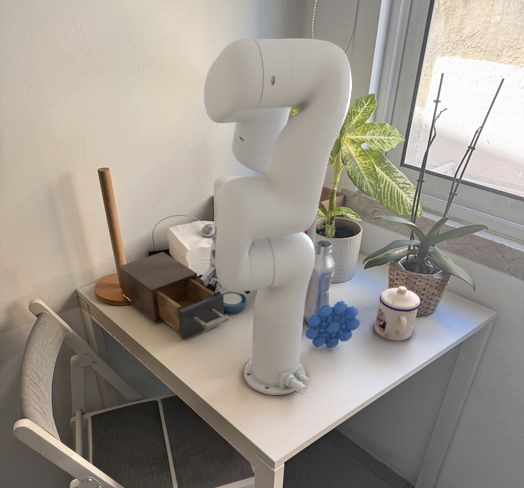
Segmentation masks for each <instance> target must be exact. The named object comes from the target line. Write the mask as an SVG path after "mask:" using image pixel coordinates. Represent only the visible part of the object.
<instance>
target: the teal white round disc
mask: <svg viewBox="0 0 524 488" xmlns="http://www.w3.org/2000/svg"><path fill="white" fill-rule="evenodd" d="M221 294H222V295H223V299H224V312H225V313H228V314H236V313H238V312H240V311H241V310H242V309H243V308H245V306H246V305H247V297H246V295H244V294H243V293H242V292H230V291H225V292H222V293H221Z"/></svg>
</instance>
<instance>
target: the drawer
mask: <svg viewBox="0 0 524 488" xmlns="http://www.w3.org/2000/svg"><path fill="white" fill-rule="evenodd" d="M155 297H156V307H157V316H158V317H160V318H161V319H162V320H163V322H165V323H166V324H167V325H169V326H170V327H172V328H173V329H174V330H175V331H176V332H178V333H179V334H180V338H181V340H184V341H185V340H187V339H189V338H192V337H194V336H196V335H198V334H201V333H202V332H203V333H204V331H208V330H210V329H213V328H215V327H218V326H219V325H222V324H224V323H226V322H228V321H229V320H230V319H229V316H228V315H227V314H225V313H224V312H225V311H224V299H223V295H222V293H221V292H220V294H217V295H215V296H214V292H212V291H211V290H209V289H208V288H207V287H205V286H204V284H201V283H200V282H199V281H198V280H197V281H195V280H194V279H192V278H191V279H188V280H185V281H183V282H180V283H177V284H175V285H172V286H169V287H167V288H164V289H161V290H158V291H156V292H155Z"/></svg>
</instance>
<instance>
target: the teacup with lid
mask: <svg viewBox="0 0 524 488" xmlns="http://www.w3.org/2000/svg"><path fill="white" fill-rule="evenodd" d="M420 306H421V300H420V297H419V296H418V294H416V293H415V292H413V291H412V290H409V289H408V288H407V287H406V286H403V285H400V286H398V287H391V288H387V289H384V290H383V291H382V292H381V293H380V295H379V303H378V307H377V314H376V319H375V324H374V330H375V332H376V333H377V334H378V335H379V336H380V337H382V338H384V339H386V340H390V341H395V342H397V341H398V342H399V341H405V340H407V339H409V338H410V337H411V336H412V334H413V330H414V326H415V322H416V318H417V314H418V311H419V308H420Z"/></svg>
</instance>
